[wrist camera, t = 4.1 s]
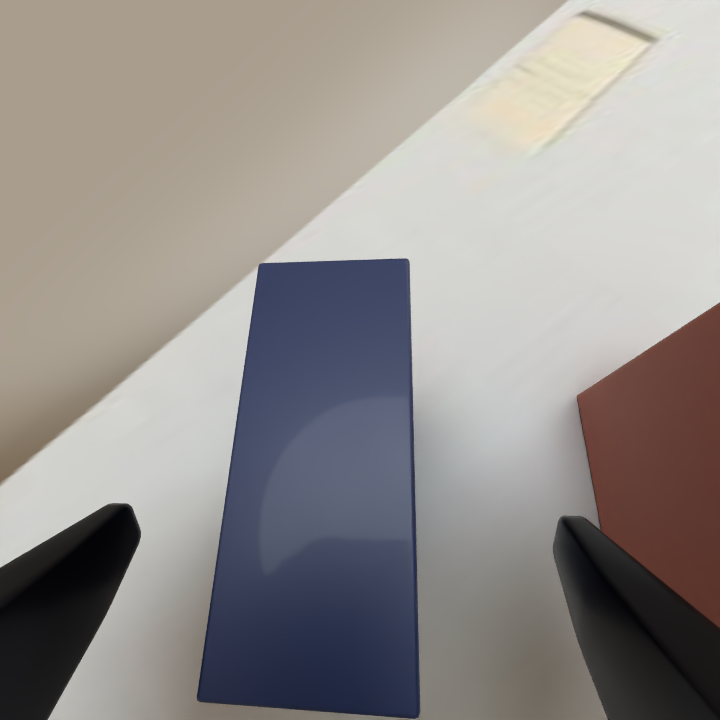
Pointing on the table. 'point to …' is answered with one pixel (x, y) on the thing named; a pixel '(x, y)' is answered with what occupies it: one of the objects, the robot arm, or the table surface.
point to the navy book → (321, 500)
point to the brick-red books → (663, 459)
